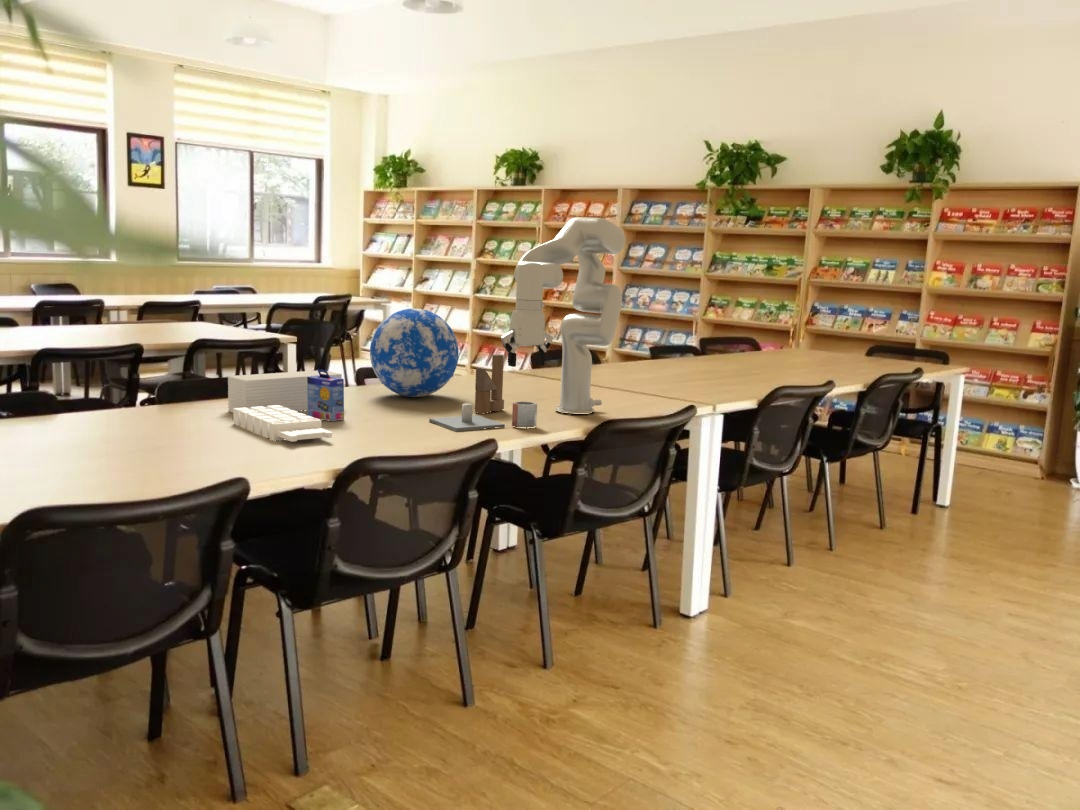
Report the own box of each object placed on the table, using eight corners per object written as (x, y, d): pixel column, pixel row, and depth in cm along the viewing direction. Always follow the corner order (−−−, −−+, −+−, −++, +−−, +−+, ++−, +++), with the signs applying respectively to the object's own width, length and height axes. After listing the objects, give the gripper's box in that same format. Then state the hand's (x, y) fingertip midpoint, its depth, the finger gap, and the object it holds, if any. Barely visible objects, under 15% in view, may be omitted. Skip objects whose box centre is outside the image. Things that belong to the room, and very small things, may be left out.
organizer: (278, 404, 268) (336, 425, 242) (278, 421, 269) (336, 443, 242) (233, 408, 260) (287, 429, 233) (233, 425, 261) (287, 448, 234)
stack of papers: (245, 417, 272) (245, 380, 271) (228, 412, 280) (227, 376, 278) (341, 408, 295) (341, 374, 293) (322, 403, 302) (323, 370, 300)
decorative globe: (359, 391, 329) (360, 304, 325) (440, 389, 342) (443, 306, 337) (382, 405, 303) (384, 311, 298) (469, 402, 315) (472, 312, 310)
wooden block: (474, 413, 296) (476, 355, 293) (495, 409, 304) (497, 353, 301) (483, 414, 293) (485, 356, 291) (504, 410, 302) (506, 354, 299)
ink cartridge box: (305, 417, 275) (306, 368, 272) (319, 415, 279) (319, 366, 277) (331, 422, 270) (331, 371, 267) (344, 419, 274) (345, 370, 272)
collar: (527, 424, 280) (528, 400, 279) (539, 428, 275) (540, 404, 274) (508, 425, 276) (509, 402, 275) (520, 429, 271) (521, 405, 270)
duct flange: (476, 418, 286) (477, 398, 285) (504, 427, 273) (505, 407, 272) (429, 421, 277) (429, 401, 276) (456, 431, 264) (456, 410, 263)
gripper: (546, 305, 278) (543, 363, 280) (496, 305, 268) (493, 365, 271) (561, 307, 272) (558, 366, 274) (510, 306, 262) (507, 368, 265)
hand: (526, 365), depth 273 cm, fingers open, 9 cm apart
